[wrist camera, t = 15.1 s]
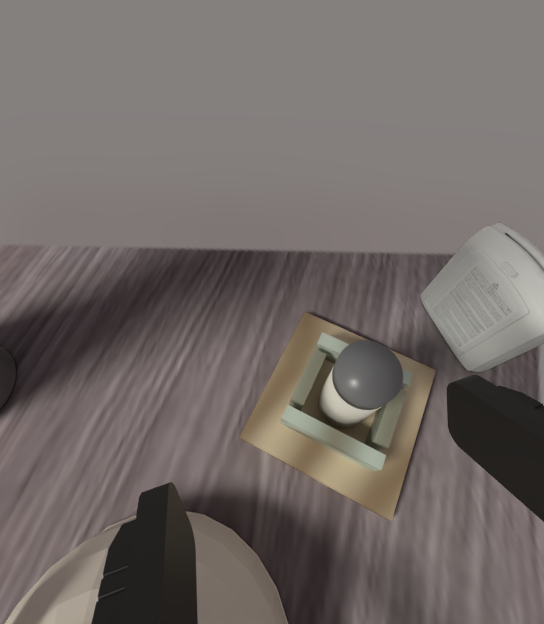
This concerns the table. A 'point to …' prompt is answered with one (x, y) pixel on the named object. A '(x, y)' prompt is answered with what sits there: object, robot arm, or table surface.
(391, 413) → the holder
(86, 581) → the kettle
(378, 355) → the grey and white cylinder
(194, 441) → the table surface
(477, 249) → the photo printer
